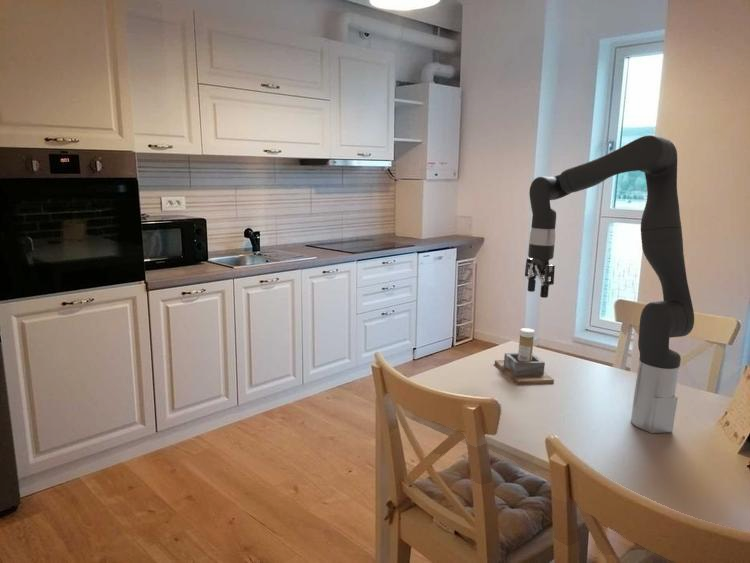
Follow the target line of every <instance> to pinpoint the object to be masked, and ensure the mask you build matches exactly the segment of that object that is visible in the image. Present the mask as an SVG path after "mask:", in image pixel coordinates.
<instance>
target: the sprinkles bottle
mask: <svg viewBox="0 0 750 563" xmlns="http://www.w3.org/2000/svg"><path fill="white" fill-rule="evenodd" d="M535 332H536V331H535V329H533V328H528V327H523V328H520V329H519V343H518V352H517V353H518V362H532V353H533V349H534V348H533V347H534V338H535V334H536V333H535ZM533 354H534V353H533Z"/></svg>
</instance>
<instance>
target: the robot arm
mask: <svg viewBox="0 0 750 563" xmlns="http://www.w3.org/2000/svg"><path fill="white" fill-rule="evenodd" d="M636 171H637V172H638V171H640V172H641V173H644V176H645V182H646V183H645V184H646V192H647V193H646V194H647V196H646V203H645V207H644V209H643V213H642V216H641V221H640V238H641V248H642V251H643V254H644V256H645V259H646V260H647V261H648V263H649V265H650V266H651V268H652V269H653V271H654V273H655V274H656V275H657V277H658V280H659V281H660V285H661V290H662V291H661V292H662V297H663V301H662V300H659V301H651V302H649V303H647V304H646V305H645V306H644V307H643V308H642V311H641V313H640V318H639V328H638V340H637V345H638V351H639V358H638V366H637V374H636V379H635V387H634V395H633V401H632V402H633V403H632V409H631V410H632V411H631V418H630V422H631V424H632V425H633V426H635V427H636V428H638V429H640V430H644V431H646V432H648V433H650V434H659V433H660V434H661V433H662V434H663V433H672V432H673V430H674V423H675V417H676V411H677V405H678V397H677V396H676V392H677V391H676V390H677V386H678V385H677V384H678V378H679V373H680V372H679V371H680V367H681V360H682V359H681V358H682V357H681V354H679V352H677V351H675V350H673V349H670V338H681V337H686V336H687V335H690V333H691V332H692V331H693V328H694V325H695V311H694V307H693V302H692V295H691V292H690V289H689V284H688V278H687V271H686V270H687V269H686V263H685V255H684V238H683V231H682V227H683V226H682V222H681V214H680V203H679V196H678V151H677V147H676V145H675V144H674V143H673V142H672V141H671V140H669V139H667V138H664V137H662V136H659V135H656V134H645V135H643V136H642V135H641V136H640V137H638V138H635V139H634V140H632V141H629V142H628V143H627V144H624V145H623V146H621V147H619V148H617V149H615V150H613V151H612V152H611V151H610V152H609V153H607V154H605V155H602V156H600V157H598V158H595V159H592V160H591V161H587V162H585V163H581V164H578V165H575V166H572V167H570V168H567V169H565V170H563V171H562V172H561V173H560V174H558V175H554V176H537V177H536V178H534V179H533V181H531V184H530V187H529V201H530V209H531V212H532V213H531V214H532V215H531V216H532V217H531V228H530V233H529V238H528V239H529V241H528V251H527V256H528V258H526V262H525V268H524V269H525V270H524V277H527V281H528V282H527V292H530V293H533V292H535V290H536V281H537V280H536V279H537V278H538V279H539V281H540V295H539V296H540V297H541V298H546V299H547V298H548V297H549V288H550V286H551V285H554V282H555V267H556V266H555V264H550V260H553V259H554V258H555V257H554V255H555V243H556V224H557V223H556V222H557V212H556V210H555V209H553V208H552V207H551V201H554V200H558V199H559V200H560V199H562V198H565V197H566V196H569V195H570V194H572V193H577V192H580V191H584V190H587V189H589V188H592V187H595V186H598V185H599V184H601V183H602V182H604V181H607V179H609V178H611V177H614V176H616V175H619V174H623V173H630V172H636Z"/></svg>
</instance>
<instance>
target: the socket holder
mask: <svg viewBox="0 0 750 563" xmlns="http://www.w3.org/2000/svg"><path fill="white" fill-rule="evenodd" d="M545 364H546V363H545V361H544V360H542V359H541V358H539V357H538V356H537V355H535V354H534V353H532V362H518V352H507V353H504V358H503V360H502V359H499V360H498V359H497V360H494V365H495V366H496V367H498V368H499V370H501V371H502V372H503V373H504V374H505V375H506V376H507V377H508V378H509V379H510V380H511V381H512V382H514V384H516V385H517V386H518V385H519V386H521V385H543V383H549V384H554V383H555V379H554V378H553V377H551V375H549V374H548V373H547V372H545V367H546V366H545Z"/></svg>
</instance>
